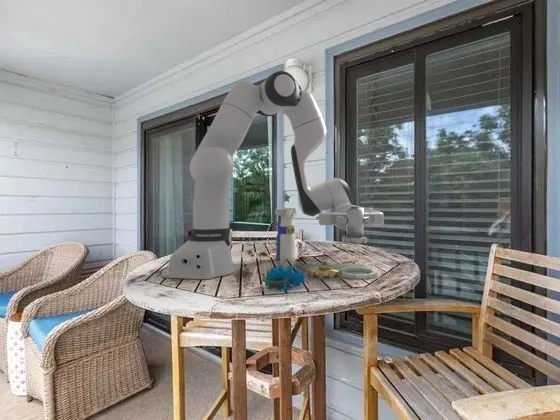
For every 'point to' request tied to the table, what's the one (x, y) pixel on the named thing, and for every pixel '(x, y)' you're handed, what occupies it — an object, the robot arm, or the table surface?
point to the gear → (283, 277)
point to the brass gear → (324, 271)
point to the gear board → (341, 273)
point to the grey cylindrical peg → (355, 226)
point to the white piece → (285, 233)
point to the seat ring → (358, 276)
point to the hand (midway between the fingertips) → (355, 220)
